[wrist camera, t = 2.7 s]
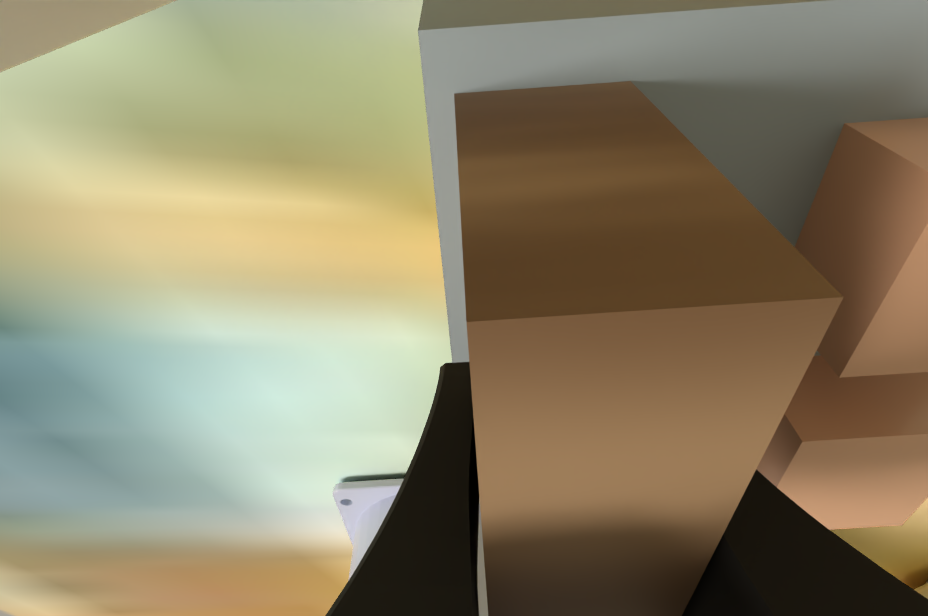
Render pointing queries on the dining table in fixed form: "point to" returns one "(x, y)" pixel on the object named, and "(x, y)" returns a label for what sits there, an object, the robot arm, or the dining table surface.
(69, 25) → the mug
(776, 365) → the long brown wooden post
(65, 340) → the dining table surface
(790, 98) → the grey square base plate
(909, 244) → the tile
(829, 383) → the tile
